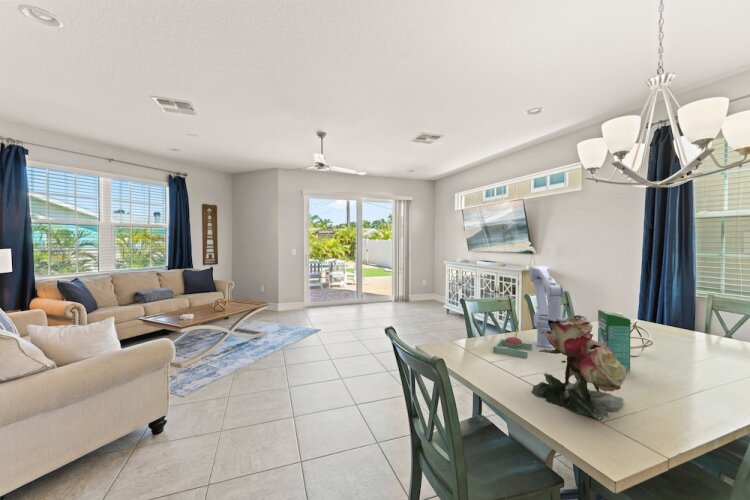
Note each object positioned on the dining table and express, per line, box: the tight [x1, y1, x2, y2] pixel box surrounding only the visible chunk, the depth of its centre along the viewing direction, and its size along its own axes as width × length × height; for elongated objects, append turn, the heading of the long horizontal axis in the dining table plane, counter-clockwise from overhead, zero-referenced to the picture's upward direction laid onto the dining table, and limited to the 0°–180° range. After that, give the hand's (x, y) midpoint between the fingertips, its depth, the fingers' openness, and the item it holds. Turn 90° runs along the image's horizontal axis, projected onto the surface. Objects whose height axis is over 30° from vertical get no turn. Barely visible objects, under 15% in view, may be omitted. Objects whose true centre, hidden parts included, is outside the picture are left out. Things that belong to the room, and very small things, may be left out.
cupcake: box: [504, 327, 523, 350], centre depth 172 cm, size 9×8×12 cm
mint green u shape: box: [493, 338, 533, 359], centre depth 172 cm, size 15×16×3 cm
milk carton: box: [597, 309, 631, 372], centre depth 149 cm, size 9×9×25 cm
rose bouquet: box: [531, 314, 629, 421], centre depth 120 cm, size 26×29×30 cm
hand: (554, 335), depth 165 cm, fingers closed
